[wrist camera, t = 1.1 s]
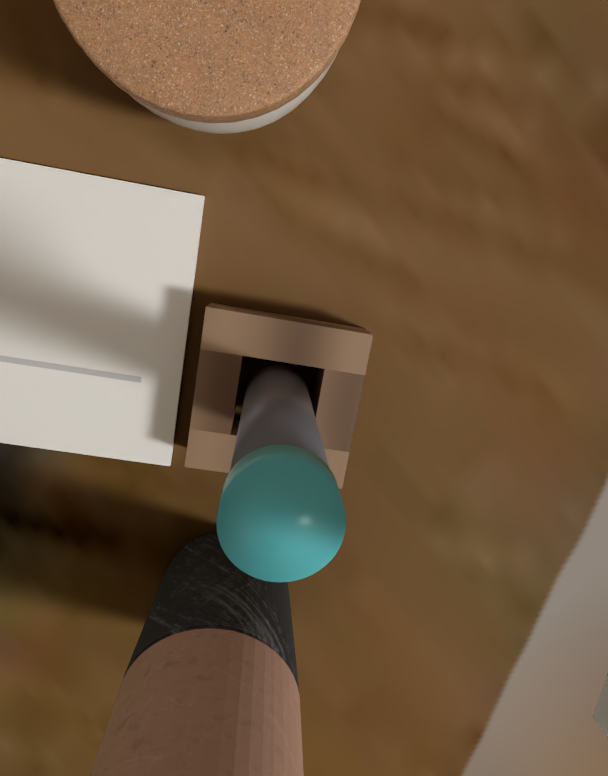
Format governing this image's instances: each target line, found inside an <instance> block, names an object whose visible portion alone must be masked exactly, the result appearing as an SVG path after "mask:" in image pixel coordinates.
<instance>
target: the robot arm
mask: <svg viewBox="0 0 608 776" xmlns="http://www.w3.org/2000/svg"><path fill="white" fill-rule="evenodd" d="M593 717H594V719H595V720H596V722H597V723H598V725H599V726H600V727H601V729H602V730H603V732H604V733H605V735H606V736H607V738H608V675H607V677H606V680H605V683H604V686H603V689H602V691H601V695H600V697H599V700H598V703H597V706H596V708H595V711H594V714H593Z"/></svg>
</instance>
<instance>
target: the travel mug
mask: <svg viewBox="0 0 608 776" xmlns="http://www.w3.org/2000/svg"><path fill="white" fill-rule="evenodd" d="M90 776H304V775H303V755H302V736H301V716H300V696H299V685H298V676H297V666H296V656H295V647H294V637H293V627H292V618H291V608H290V598H289V590H288V583H287V582H270V581H264V580H261V579H257V578H255V577H252V576H250V575H248V574H246V573H245V572H243V571H241V570H240V569H239V568H238V567H236V566H235V565H234V564H233V563H232V562H231V561H230V560H229V558H228V557H227V556H226V554H225V553H224V551H223V549H222V547H221V545H220V542H219V539H218V534H217V532H215V533H210V534H207V535H203V536H201V537H199V538H196V539H194V540H193V541H191V542H189V543H188V544H187V545H185V546H184V547H183V548H182V549H181V550H180V551H179V552H178V553H177V554H176V555H175V557H174V558H173V559H172V561H171V563H170V565H169V567H168V568H167V570H166V573H165V575H164V577H163V580H162V582H161V585H160V587H159V590H158V592H157V595H156V597H155V600H154V602H153V605H152V607H151V610H150V612H149V615H148V617H147V620H146V622H145V625H144V627H143V630H142V632H141V635H140V637H139V640H138V642H137V645H136V647H135V650H134V652H133V655H132V657H131V660H130V662H129V665H128V667H127V670H126V672H125V675H124V678H123V680H122V683H121V686H120V689H119V692H118V695H117V698H116V701H115V704H114V706H113V709H112V712H111V715H110V718H109V721H108V724H107V727H106V730H105V733H104V736H103V739H102V742H101V745H100V748H99V750H98V753H97V756H96V759H95V762H94V765H93V768H92V771H91V774H90Z"/></svg>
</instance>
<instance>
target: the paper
mask: <svg viewBox="0 0 608 776" xmlns="http://www.w3.org/2000/svg"><path fill="white" fill-rule="evenodd" d="M204 199H205V197H204V196H201V195H195V194H190V193H185V192H179V191H174V190H169V189H163V188H158V187H153V186H147V185H142V184H137V183H131V182H126V181H121V180H116V179H110V178H105V177H100V176H94V175H89V174H84V173H78V172H73V171H68V170H62V169H57V168H52V167H46V166H41V165H36V164H30V163H25V162H20V161H14V160H9V159H4V158H0V443H6V444H13V445H20V446H28V447H35V448H42V449H49V450H56V451H64V452H71V453H78V454H85V455H92V456H100V457H107V458H114V459H121V460H128V461H136V462H143V463H150V464H157V465H164V466H170V465H171V460H172V452H173V445H174V437H175V429H176V421H177V413H178V405H179V397H180V389H181V381H182V373H183V365H184V358H185V350H186V342H187V334H188V326H189V318H190V310H191V302H192V294H193V286H194V278H195V271H196V263H197V255H198V247H199V239H200V231H201V223H202V215H203V207H204Z"/></svg>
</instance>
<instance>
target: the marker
mask: <svg viewBox="0 0 608 776" xmlns="http://www.w3.org/2000/svg"><path fill="white" fill-rule="evenodd" d="M216 525H217V534H218V539H219V542H220V545H221V547H222V549H223V551H224V553H225V554H226V556H227V557H228V558H229V560H230V561H231V562H232V563H233V564H234V565H235V566H236V567H238V568H239V569H240V570H241V571H243V572H245V573H246V574H248V575H250V576H252V577H255V578H257V579H261V580H264V581H270V582H290V581H296V580H299V579H303V578H305V577H308V576H310V575H312V574H314V573H316V572H317V571H319V570H320V569H322V568H323V567H324V566H326V565H327V564H328V563H329V562H330V561H331V560H332V558H333V557H334V556H335V555H336V553H337V551H338V550H339V548H340V546H341V544H342V541H343V538H344V535H345V529H346V515H345V509H344V506H343V502H342V499H341V495H340V492H339V488H338V485H337V482H336V479H335V477H334V474H333V473H332V471H331V470H330V468H329V465H328V461H327V458H326V454H325V451H324V447H323V443H322V440H321V436H320V432H319V429H318V425H317V421H316V418H315V414H314V411H313V407H312V403H311V400H310V396H309V392H308V389H307V385H306V383H305V381H304V379H303V378H302V376H301V375H300V374H299V373H298V372H297V371H295V370H294V369H292V368H290V367H287V366H283V365H270V366H267V367H264V368H262V369H260V370H259V371H257V372H256V373H255V374H254V375H253V376H252V377H251V379H250V380H249V382H248V385H247V387H246V392H245V397H244V402H243V407H242V412H241V417H240V422H239V428H238V433H237V438H236V443H235V448H234V453H233V458H232V463H231V468H230V472H229V474H228V476H227V478H226V480H225V483H224V486H223V491H222V495H221V500H220V505H219V509H218V514H217V523H216Z"/></svg>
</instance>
